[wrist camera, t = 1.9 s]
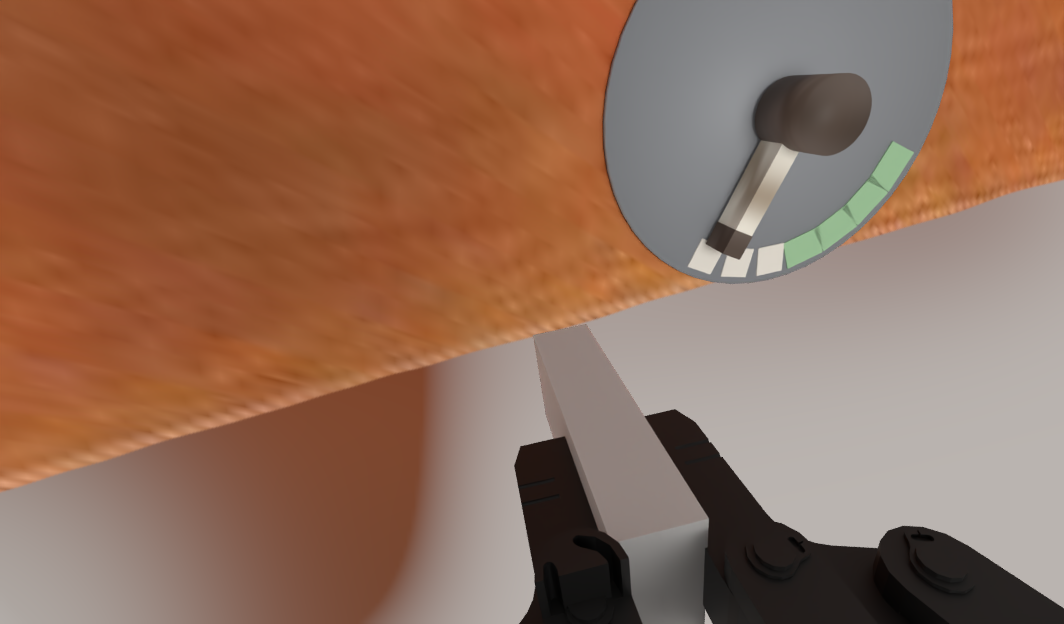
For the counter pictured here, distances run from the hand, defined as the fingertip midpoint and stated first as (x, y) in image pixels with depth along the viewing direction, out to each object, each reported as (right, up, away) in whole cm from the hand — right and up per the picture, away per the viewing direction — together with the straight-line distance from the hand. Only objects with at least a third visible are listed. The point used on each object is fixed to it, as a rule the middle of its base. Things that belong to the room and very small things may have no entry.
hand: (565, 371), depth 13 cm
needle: (+17, +13, +23) cm, 31 cm away
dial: (+18, +17, +22) cm, 33 cm away
